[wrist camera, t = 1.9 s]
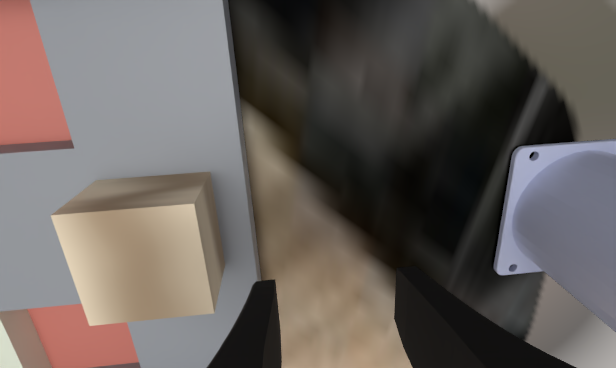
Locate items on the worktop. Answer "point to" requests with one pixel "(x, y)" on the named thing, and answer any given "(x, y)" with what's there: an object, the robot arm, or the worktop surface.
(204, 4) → the trap tray
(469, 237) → the worktop surface
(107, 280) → the maple block
